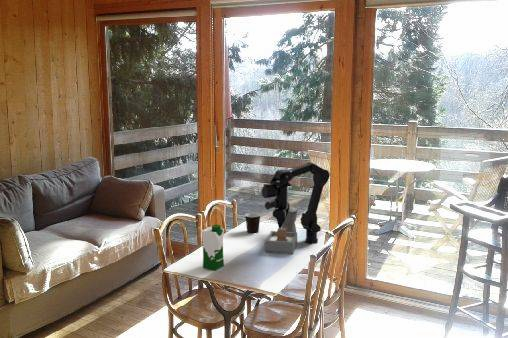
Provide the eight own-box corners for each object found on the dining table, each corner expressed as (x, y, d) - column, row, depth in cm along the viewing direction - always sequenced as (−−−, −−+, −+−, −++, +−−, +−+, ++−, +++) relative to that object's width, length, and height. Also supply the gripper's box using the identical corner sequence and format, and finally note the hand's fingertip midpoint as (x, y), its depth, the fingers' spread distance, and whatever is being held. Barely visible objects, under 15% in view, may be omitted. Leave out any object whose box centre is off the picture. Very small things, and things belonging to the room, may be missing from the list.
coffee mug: (246, 229, 275) (246, 212, 273) (261, 229, 274) (261, 213, 272) (243, 235, 264) (243, 218, 262) (258, 236, 263) (258, 218, 261)
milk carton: (215, 272, 214) (214, 229, 211) (199, 268, 219) (198, 226, 215) (226, 265, 222) (226, 224, 218) (211, 261, 226) (209, 221, 223)
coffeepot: (302, 237, 260) (302, 205, 257) (288, 240, 256) (288, 207, 252) (287, 229, 273) (287, 199, 270) (273, 232, 269) (273, 201, 266)
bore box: (271, 241, 254) (271, 231, 252) (297, 243, 251) (297, 232, 250) (265, 252, 238) (265, 240, 237) (293, 254, 235) (293, 242, 234)
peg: (278, 244, 247) (278, 228, 245) (286, 245, 246) (286, 228, 244) (277, 247, 243) (277, 230, 241) (285, 247, 242) (285, 230, 240)
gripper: (269, 190, 250) (269, 219, 253) (262, 199, 232) (262, 230, 235) (290, 191, 248) (290, 220, 250) (284, 200, 230) (284, 231, 233)
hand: (281, 225), depth 242 cm, fingers open, 9 cm apart
